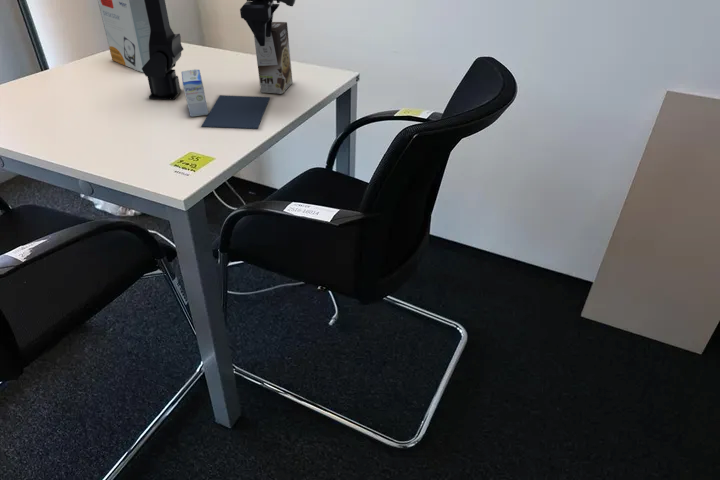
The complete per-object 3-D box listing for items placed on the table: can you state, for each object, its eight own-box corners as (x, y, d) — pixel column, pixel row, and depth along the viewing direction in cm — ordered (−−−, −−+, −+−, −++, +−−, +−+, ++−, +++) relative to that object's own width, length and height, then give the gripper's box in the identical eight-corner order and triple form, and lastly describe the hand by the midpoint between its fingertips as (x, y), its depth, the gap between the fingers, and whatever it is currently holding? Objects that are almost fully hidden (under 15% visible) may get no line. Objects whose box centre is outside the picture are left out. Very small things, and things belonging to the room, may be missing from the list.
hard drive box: (111, 61, 159) (93, -12, 147) (133, 55, 164) (118, -16, 152) (142, 73, 151) (126, -3, 140) (165, 66, 156) (152, -7, 145)
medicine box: (188, 105, 134) (180, 71, 129) (206, 102, 135) (199, 68, 130) (190, 117, 128) (181, 82, 123) (209, 114, 129) (201, 79, 124)
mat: (201, 127, 124) (201, 125, 124) (219, 96, 140) (219, 95, 140) (257, 129, 124) (257, 127, 124) (269, 98, 140) (269, 97, 140)
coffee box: (283, 94, 142) (276, 30, 132) (260, 92, 143) (252, 29, 133) (293, 82, 149) (288, 21, 139) (271, 81, 150) (264, 20, 140)
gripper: (287, -23, 113) (293, 53, 122) (299, -37, 128) (303, 31, 137) (235, -23, 113) (244, 52, 122) (252, -37, 128) (260, 31, 137)
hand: (265, 41), depth 130 cm, fingers open, 7 cm apart
